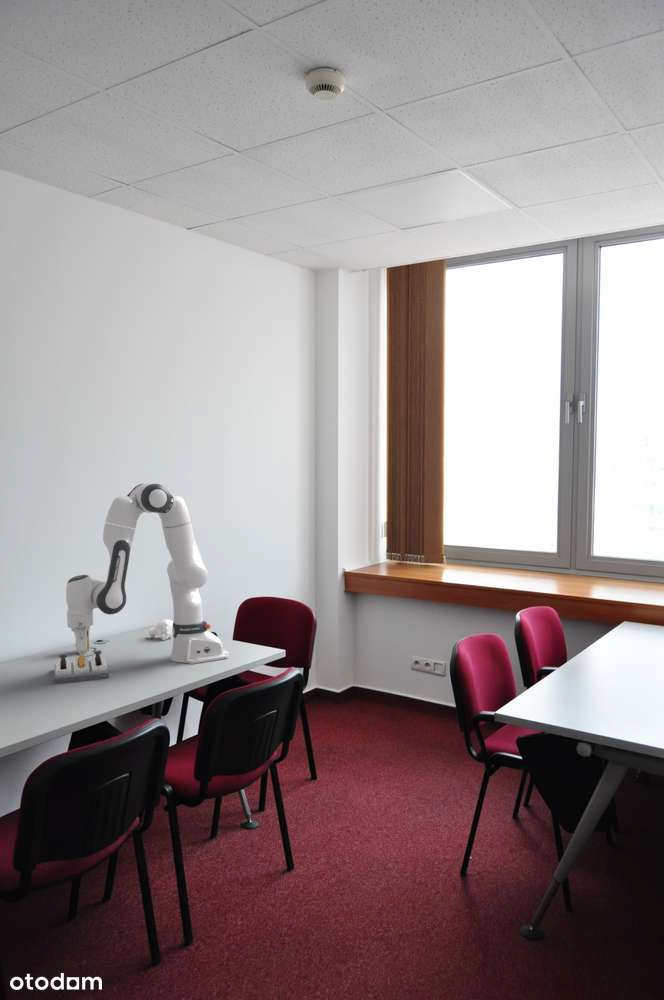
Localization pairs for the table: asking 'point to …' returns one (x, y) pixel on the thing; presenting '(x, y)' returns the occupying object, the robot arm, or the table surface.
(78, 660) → the orange breaker
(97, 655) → the black breaker near arm
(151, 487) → the robot arm
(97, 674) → the breaker board
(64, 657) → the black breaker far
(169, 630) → the white crumpled lump
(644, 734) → the table surface
